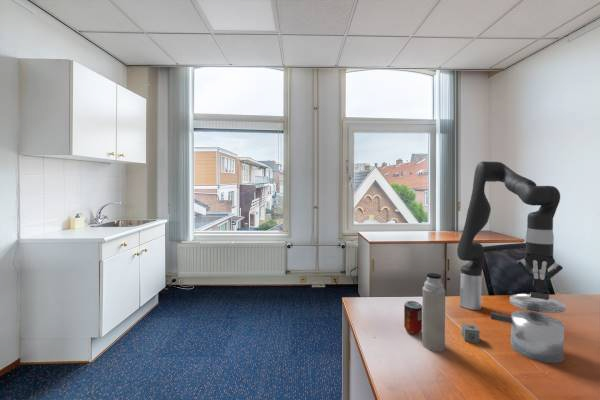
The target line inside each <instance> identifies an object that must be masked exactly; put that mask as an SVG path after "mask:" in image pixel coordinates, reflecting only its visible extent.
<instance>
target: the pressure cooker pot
mask: <svg viewBox="0 0 600 400" xmlns="http://www.w3.org/2000/svg"><path fill="white" fill-rule="evenodd" d="M490 320H495V321H499V322H503V323H508V324H510V347H511V349H512V350H514V351H515V352H517V353H518V354H519V355H521V356H524V357H526V358H528V359H531V360H534V361H537V362H542V363H545V364H546V363H547V364H558V363H559V364H560V363H562V362H564V361H563V360H564V348H565V347H564V345H565V343H564V342H565V341H564V340H565V339H564V338H565V324H564V323H563V322H562V321H560V320H558V318H555V317H552V316H550V315H548V314H545V313H542V312H535V311H530V310H515V311H512V312H511V313H510V315H508V314H502V313H499V312H493V311H491V312H490Z"/></svg>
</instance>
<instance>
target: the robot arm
mask: <svg viewBox="0 0 600 400" xmlns="http://www.w3.org/2000/svg"><path fill="white" fill-rule="evenodd" d="M486 182H488V183H489V182H490V183H491V182H493V183H494V182H495V183H496V182H501V183H503V184H504V187H505V188H506V189H507V190H508V191H509V192H511V193H513V194H514V195H517V196H518V198H519V199H520V200H521V201H522V203H524V204H525V205H529V206H539V208H538V210H536V211H532V212H529V213H528V214H527V219H526V222H527V223H526V224H527V225H526V227H527V228H526V232H525V233H526V235H525V255H524V256H523V258H521V259H520V260H517V261H516V262H517V265H518V266H519V267H520V268H521V270H523V272H525V274H526V275H527V276H528V277H531V278H532V285H533V288H535V290H539V291H540V290H542V289H544V287H545V280H549V279H551V278H553V277H554V276H555V275H557V274H558V273H559V272H561V271H562V270H563V266H562V265H561V264H558V263H557V262H556V259H555V258H554V243H555V242H554V241H555V240H554V217H555V214H556V212H557V209H558V206H559V204H560V202H561V201H560V200H561V193H560V190H559V189H558V188H557V187H556V186H553V185H537V183H536V182H534V181H533V180H532V179H529V178H527V177H524V176H522V175H520V174H518V173H517V172H515V171H513V170H512V169H511V168H510V167H509V166H507V165H506V164H504V163H502V162H500V161H486V160H485V161H484V160H483V161H480V162H478V163H477V165H476V167H475V169H474V176H473V184H472V189H471V195H470V200H469V204H468V209H467V212H466V216H465V222H464V226H463V230H462V233H461V235H460V239H459V241H458V244H457V248H456V249H457V250H456V251H457V252H456V254H457V257H458V259H459V260H461V261H465V262H467V261H468V263H466V264H464V265H462V266H461V267H460V287H459V307H462V308H464V309H468V310H474V311H479V310H481V309H482V279H483V278H482V275H483V270H484V264H485V263H484V262H485V251H484V246H483V245H482V244H481V243H480V242H475V241H474V240H475V238H476V236H477V235H478V234H479V233H480V232H481V230H483V229H484V227H485V226H486V225H487V223H488V222H489V219H490V215H491V209H492V208H491V204H490V202H489V200H488V198H487V196H486V193H485V187H486ZM526 265H528V266H529V267H530V268H531V269H532V272H531V271H530V269H528V267H527V266H526ZM551 267H552V268H551ZM549 268H551V269H550V270H548V269H549ZM546 270H548V272H547V273H546Z"/></svg>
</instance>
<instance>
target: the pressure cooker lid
mask: <svg viewBox="0 0 600 400" xmlns="http://www.w3.org/2000/svg"><path fill="white" fill-rule="evenodd" d="M509 303H510V304H511V305H513V306H514V307H517V308H519V309H523V310H525V311H532V312H537V313H541V314H560V313H565V311H566V304H565V303H564V302H562V301H561V300H559V299H556V298H553V297H550V294H547V293H540V292H533V291H530V292H529V293H516V294H512V295H510V296H509Z"/></svg>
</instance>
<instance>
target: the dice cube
mask: <svg viewBox="0 0 600 400" xmlns="http://www.w3.org/2000/svg"><path fill="white" fill-rule="evenodd" d="M461 336H462V339H463V340H464V342H468V343H473V344H474V343H475V344H480V329H479V328H478V326H477V325H476V324H469V323H461Z"/></svg>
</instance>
